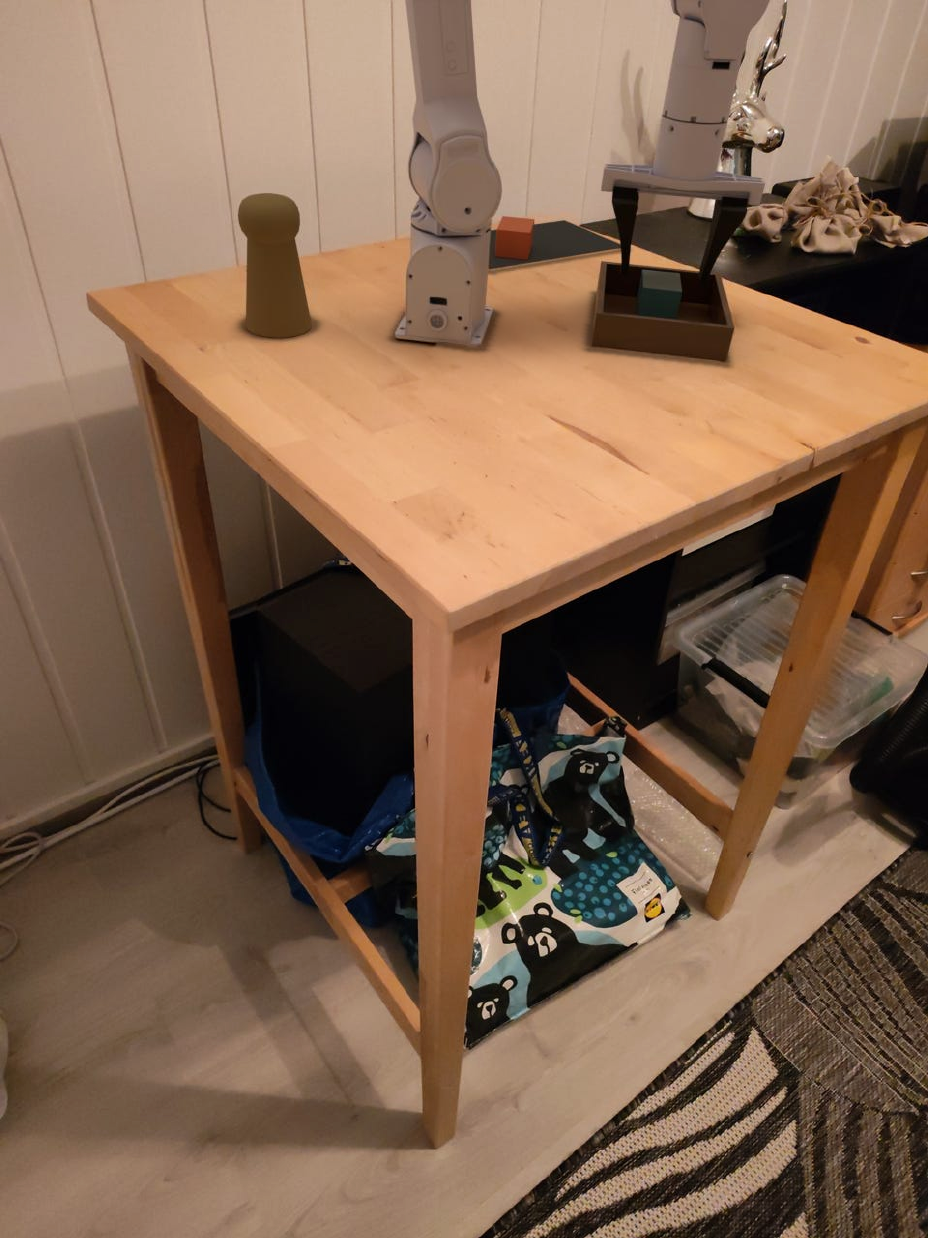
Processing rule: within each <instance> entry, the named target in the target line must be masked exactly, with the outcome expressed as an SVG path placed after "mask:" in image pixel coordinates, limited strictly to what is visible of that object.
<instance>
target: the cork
mask: <svg viewBox="0 0 928 1238" xmlns="http://www.w3.org/2000/svg"><path fill="white" fill-rule="evenodd" d="M237 222H238V225H239V228H240V230H241V232H242V234H244V236H245V238H246V286H245V292H246V293H245V328H246V329H247V331H248V332H250V333H252V334H253V335H257V336H261V337H266V338H272V339H273V338H274V339H275V338H278V339H282V338H291V337H292V338H293V337H296V336H300V335H303V334H305V333H307V332H308V331H310V329H312V327H313V325H312V324H313V323H312V317H311V313H310V308H309V302H308V298H307V293H306V288H305V283H304V278H303V272H302V268H301V267H302V266H301V262H300V257H299V253H298V252H299V251H298V247H297V241H296V237H297V235H298V234H299V232H300V226H301V214H300V210H299V208H298V205H297V204H296V202H295V201H294V200H293V198H290V197H289V196H287V195H284V194H280V193H273V192H272V193H271V192H261V193H255V194H250V195H248V196H246V197H244V198H243V199H241V201H240V203H239V205H238V210H237Z"/></svg>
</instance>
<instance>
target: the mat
mask: <svg viewBox="0 0 928 1238" xmlns="http://www.w3.org/2000/svg"><path fill="white" fill-rule="evenodd" d="M496 230H497V229H491V238H490V253H489V267H488V270H495V269H501V268H502V269H503V268H507V267H513V266H519V265H520V266H522V265H526V264H532V263H538V262H539V263H540V262H543V261H544V262H545V261H550V260H555V259H563V258H570V257H575V256H581V255H587V254H593V253H600V252H605V251H612V250H619V249H621V246H620V243H618V242H616V241H614V240H612V239H610V238H606V237H605V236H602V235H599V234H598V233H595V232H594V231H591V230H588V229H586V228H584V227H582V226H580V225H577V224H574V223H572V222H570V221H568V220H564V219H563V220H557V221H549V222H548V221H547V222H542V223H534V231H533V241H532V247H531V250H530V254H529V257H528V260H520V259H511V258H501V257H495V243H496Z"/></svg>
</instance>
